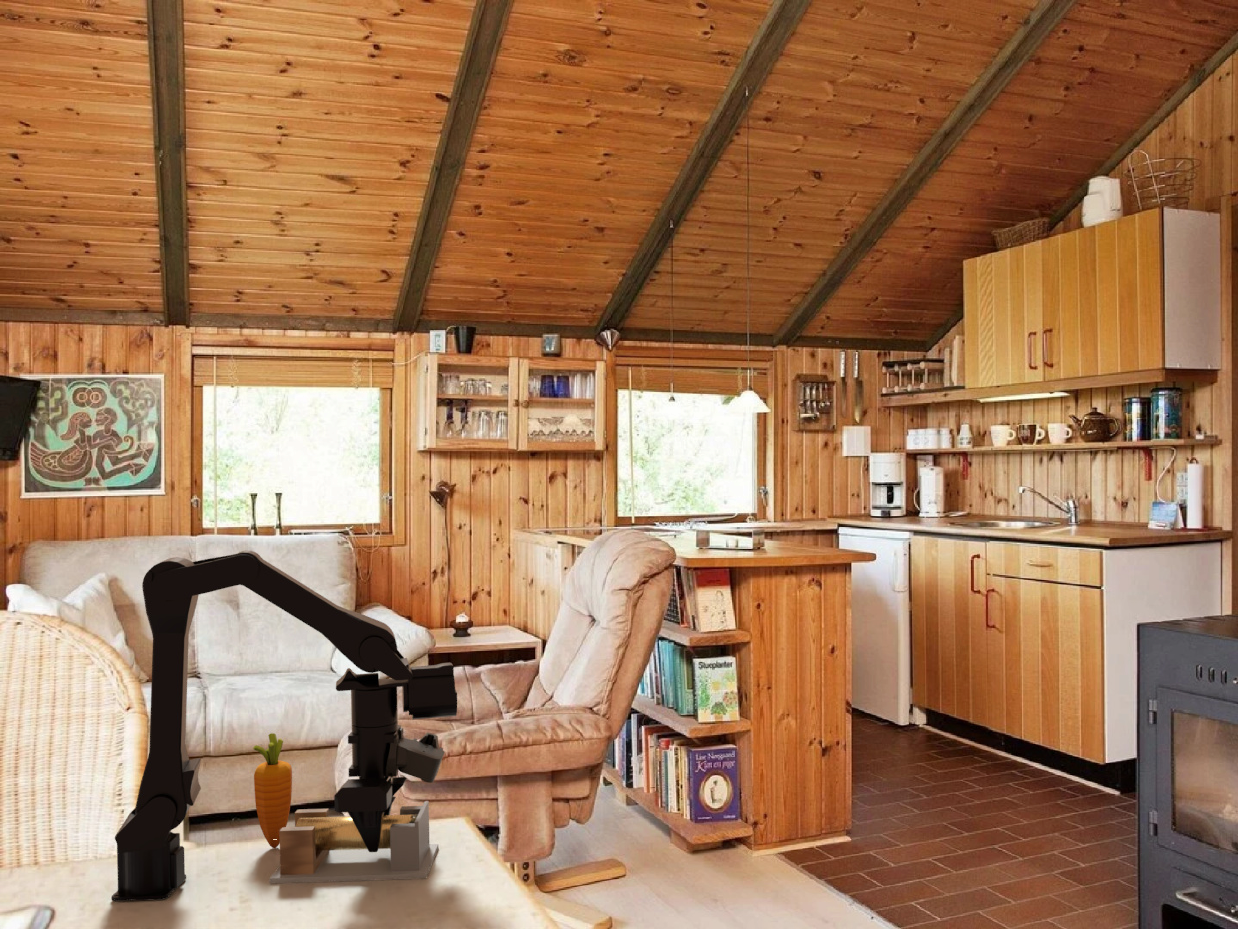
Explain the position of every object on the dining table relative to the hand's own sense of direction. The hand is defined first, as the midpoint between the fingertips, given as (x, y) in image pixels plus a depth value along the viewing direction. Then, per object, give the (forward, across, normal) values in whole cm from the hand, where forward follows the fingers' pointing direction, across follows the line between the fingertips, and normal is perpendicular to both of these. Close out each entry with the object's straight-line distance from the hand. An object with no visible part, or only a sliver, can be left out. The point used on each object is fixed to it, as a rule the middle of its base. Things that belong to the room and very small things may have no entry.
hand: (377, 845), depth 132 cm
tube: (0, 0, +2) cm, 2 cm away
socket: (+2, 0, -4) cm, 5 cm away
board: (+2, 0, +2) cm, 3 cm away
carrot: (+3, +7, +15) cm, 17 cm away
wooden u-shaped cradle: (+2, 0, +9) cm, 9 cm away
